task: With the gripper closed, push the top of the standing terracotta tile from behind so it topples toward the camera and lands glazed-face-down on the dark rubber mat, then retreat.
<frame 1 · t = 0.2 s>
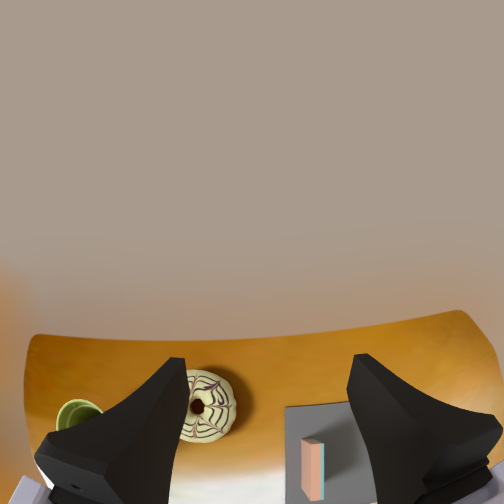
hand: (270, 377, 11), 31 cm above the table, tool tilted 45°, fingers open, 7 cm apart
mat: (333, 459, 32), on the table
decorated donut: (200, 406, 37), on the table
plant pot: (111, 431, 34), on the table
tile: (307, 463, 32), resting on mat
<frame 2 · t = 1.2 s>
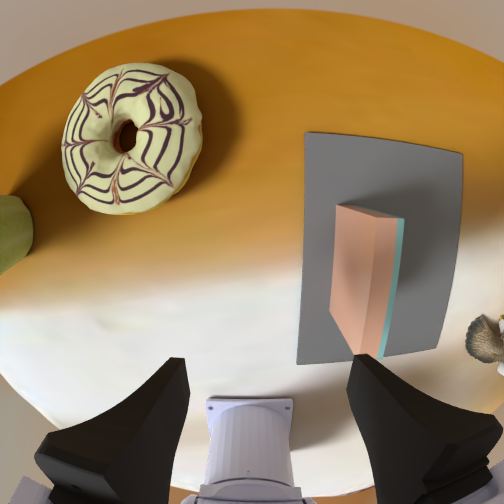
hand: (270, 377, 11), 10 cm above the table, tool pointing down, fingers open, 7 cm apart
mat: (389, 258, 21), on the table
decorated donut: (139, 140, 19), on the table
plant pot: (15, 227, 21), on the table
eagle figurine: (489, 330, 23), on the table
tile: (343, 260, 21), resting on mat
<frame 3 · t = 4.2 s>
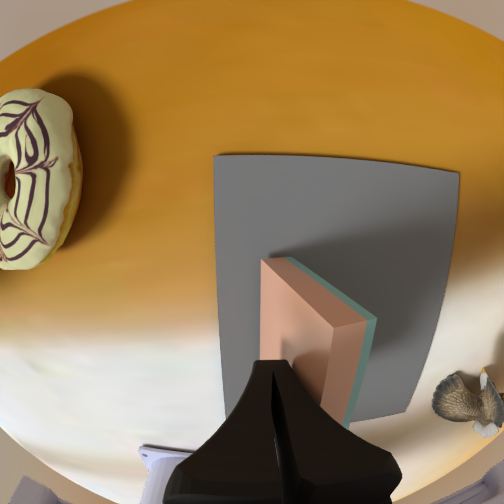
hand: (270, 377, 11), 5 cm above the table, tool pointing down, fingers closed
mat: (341, 320, 16), on the table
decorated donut: (34, 176, 14), on the table
eagle figurine: (468, 384, 19), on the table
tile: (274, 328, 16), point 1 cm above the table, tilted 15°, touching mat
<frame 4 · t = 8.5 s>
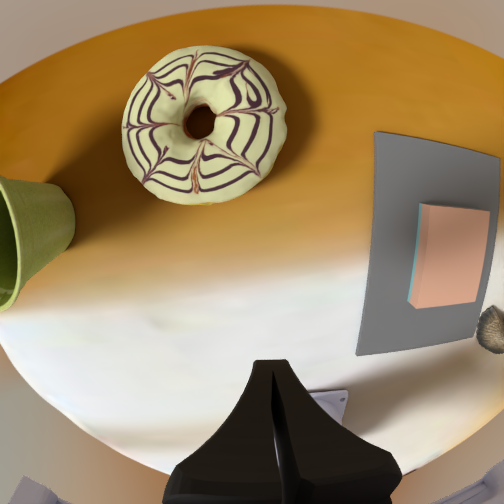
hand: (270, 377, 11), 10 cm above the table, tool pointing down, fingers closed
mat: (441, 252, 21), on the table
decorated donut: (206, 127, 19), on the table
plant pot: (51, 219, 20), on the table
eagle figurine: (499, 321, 23), on the table
tile: (419, 256, 20), point 1 cm above the table, tilted 90°, touching mat
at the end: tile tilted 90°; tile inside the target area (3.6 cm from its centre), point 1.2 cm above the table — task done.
